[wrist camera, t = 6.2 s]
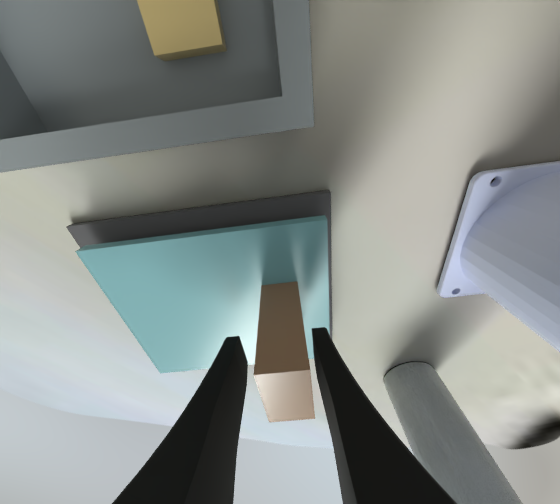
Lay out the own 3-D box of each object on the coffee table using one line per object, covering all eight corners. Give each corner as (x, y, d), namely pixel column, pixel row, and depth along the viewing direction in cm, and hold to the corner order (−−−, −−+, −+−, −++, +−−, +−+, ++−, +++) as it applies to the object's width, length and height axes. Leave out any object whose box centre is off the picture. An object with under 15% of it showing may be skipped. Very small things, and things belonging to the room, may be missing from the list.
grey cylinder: (380, 367, 19) (470, 576, 10) (434, 355, 19) (581, 569, 10) (385, 393, 21) (464, 584, 12) (434, 383, 21) (554, 578, 12)
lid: (321, 209, 11) (365, 289, 6) (325, 340, 17) (351, 447, 11) (95, 238, 12) (-60, 336, 6) (168, 355, 17) (117, 465, 12)
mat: (328, 189, 11) (330, 192, 11) (330, 341, 17) (332, 345, 17) (72, 224, 12) (66, 226, 12) (160, 358, 18) (158, 362, 18)
